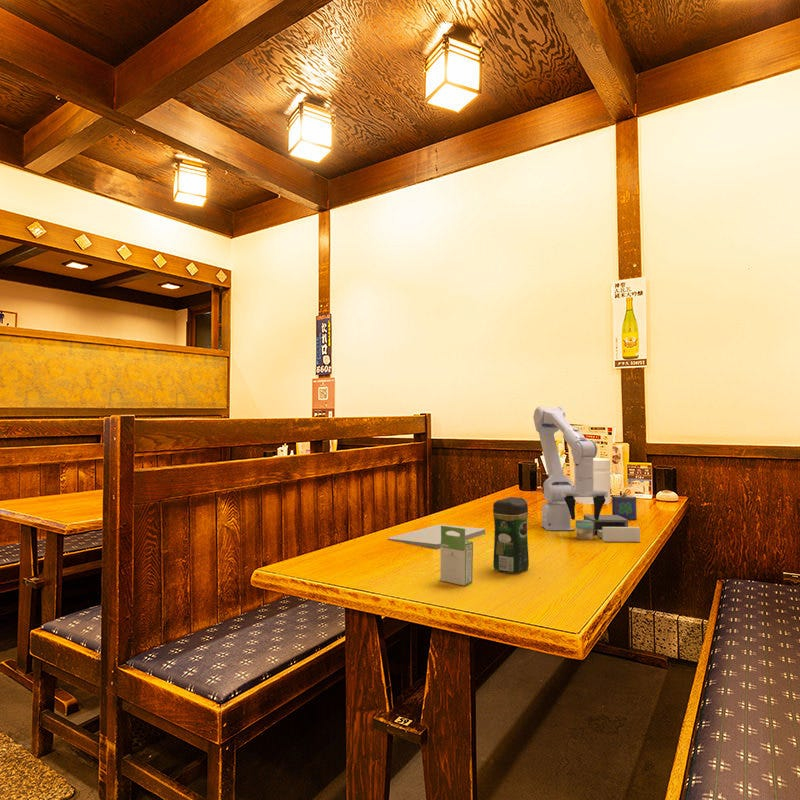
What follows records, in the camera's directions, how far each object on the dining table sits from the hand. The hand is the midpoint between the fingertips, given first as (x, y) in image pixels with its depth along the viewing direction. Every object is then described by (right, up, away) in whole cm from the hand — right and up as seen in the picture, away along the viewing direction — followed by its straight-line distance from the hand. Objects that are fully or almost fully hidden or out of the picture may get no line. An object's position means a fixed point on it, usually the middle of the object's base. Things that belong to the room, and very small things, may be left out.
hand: (584, 519), depth 177 cm
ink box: (-47, -5, -47) cm, 67 cm away
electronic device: (-48, -7, +2) cm, 48 cm away
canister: (+29, -9, +75) cm, 81 cm away
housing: (+10, -7, +8) cm, 15 cm away
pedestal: (0, -6, 0) cm, 6 cm away
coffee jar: (-32, -5, -37) cm, 49 cm away
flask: (+27, -8, +32) cm, 43 cm away
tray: (+10, -6, 0) cm, 12 cm away
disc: (0, -3, 0) cm, 3 cm away
